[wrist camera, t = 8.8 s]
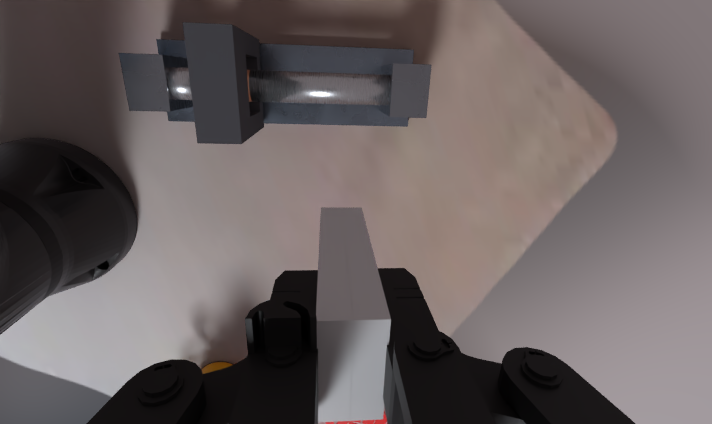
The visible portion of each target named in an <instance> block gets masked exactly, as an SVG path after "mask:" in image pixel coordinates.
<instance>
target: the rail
mask: <svg viewBox="0 0 712 424" xmlns="http://www.w3.org/2000/svg"><path fill="white" fill-rule="evenodd" d="M156 40H157V46H158V53H159V55H158V54H131V53H119V57H120V62H121V67H122V73H123V78H124V84H125V89H126V94H127V100H128V105H129V111H167V114H168V120H169V121H190V122H195V118H194V110H193V102H192V94H191V86H190V78H189V70H188V62H187V54H186V46H185V40H161V39H156ZM259 49H260V66H261V70H247V80H248V94H249V102H263V118H264V123H277V124H321V125H365V126H408V118H426V115H427V105H428V95H429V85H430V74H431V65H425V64H413V53H414V50H406V49H381V48H357V47H332V46H308V45H283V44H259Z"/></svg>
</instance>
